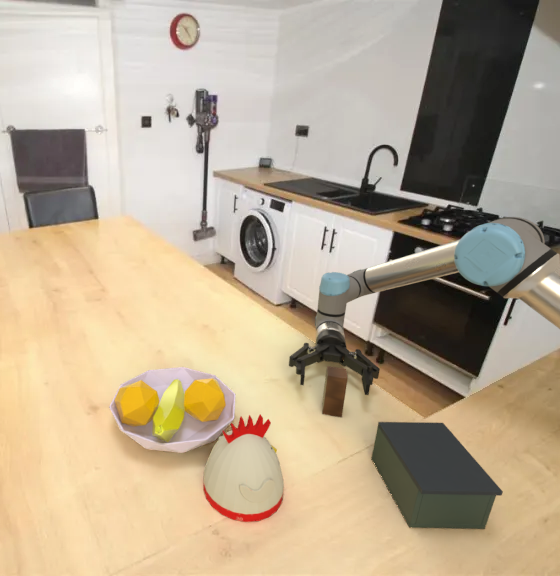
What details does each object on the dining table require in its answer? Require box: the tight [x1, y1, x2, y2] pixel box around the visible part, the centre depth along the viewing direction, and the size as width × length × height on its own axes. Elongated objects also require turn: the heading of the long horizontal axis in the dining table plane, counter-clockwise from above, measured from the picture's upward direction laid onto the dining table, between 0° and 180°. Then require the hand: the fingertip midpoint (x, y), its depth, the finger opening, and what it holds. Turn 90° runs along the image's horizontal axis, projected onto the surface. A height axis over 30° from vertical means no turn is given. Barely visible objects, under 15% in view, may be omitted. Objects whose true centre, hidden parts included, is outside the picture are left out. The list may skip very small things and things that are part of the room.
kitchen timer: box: [203, 414, 285, 523], centre depth 70 cm, size 14×14×15 cm
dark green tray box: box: [371, 425, 497, 530], centre depth 70 cm, size 15×12×8 cm
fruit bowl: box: [108, 366, 236, 454], centre depth 86 cm, size 28×27×11 cm
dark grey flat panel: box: [377, 421, 504, 496], centre depth 68 cm, size 15×12×1 cm
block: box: [321, 365, 349, 418], centre depth 90 cm, size 4×4×10 cm
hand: (334, 385), depth 91 cm, fingers open, 13 cm apart
